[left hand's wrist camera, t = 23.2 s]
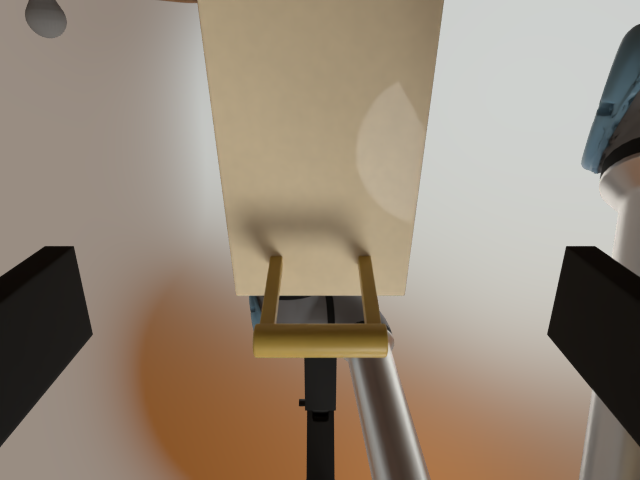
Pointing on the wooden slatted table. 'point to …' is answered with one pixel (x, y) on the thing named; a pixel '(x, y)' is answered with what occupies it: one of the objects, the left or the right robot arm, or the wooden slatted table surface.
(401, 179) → the lid
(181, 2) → the wooden slatted table surface
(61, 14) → the light bulb
